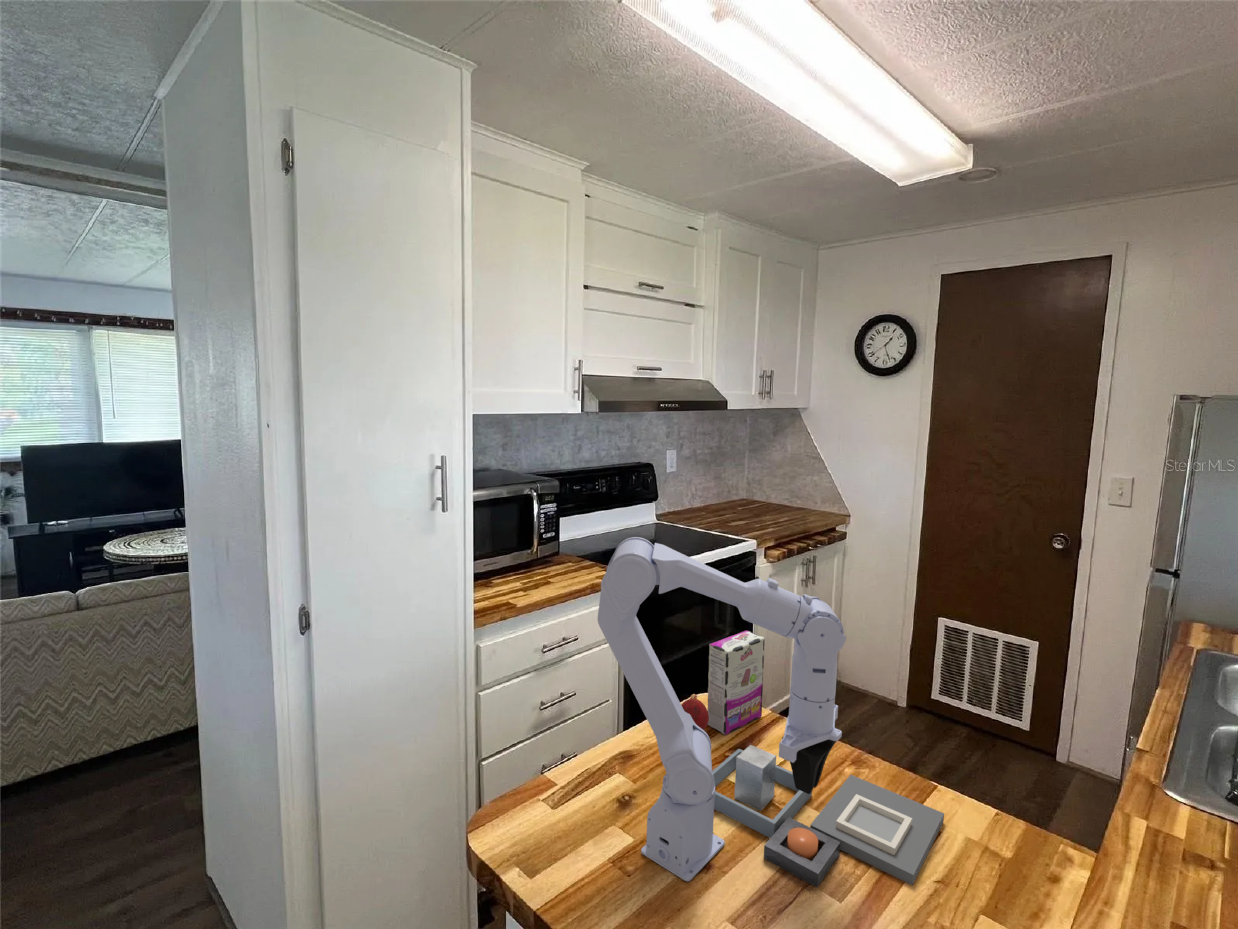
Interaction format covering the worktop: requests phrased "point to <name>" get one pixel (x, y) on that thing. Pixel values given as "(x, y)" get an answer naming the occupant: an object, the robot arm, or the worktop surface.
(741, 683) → the candy bar box
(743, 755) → the block
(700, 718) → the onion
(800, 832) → the button
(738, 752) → the tote
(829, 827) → the board
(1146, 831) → the worktop surface
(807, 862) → the button collar
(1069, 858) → the worktop surface
